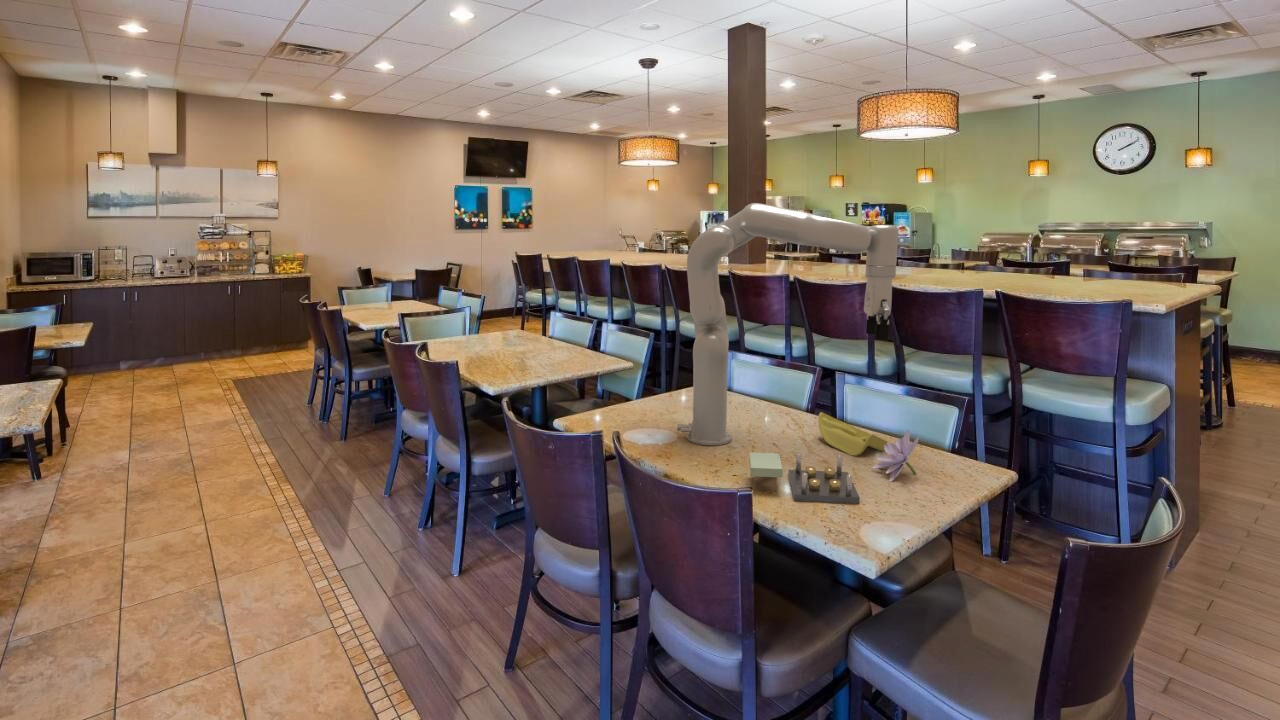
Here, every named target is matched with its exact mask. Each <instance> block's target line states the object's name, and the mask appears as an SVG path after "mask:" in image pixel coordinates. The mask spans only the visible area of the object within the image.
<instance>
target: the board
mask: <svg viewBox="0 0 1280 720" xmlns="http://www.w3.org/2000/svg"><path fill="white" fill-rule="evenodd" d="M780 456H781V455H780V453H776V452H775V453H773V452H771V453H770V452H749V460H748V461H749V471H750V477H753V476H758V477H777V478H783V465H782V461H781V457H780Z"/></svg>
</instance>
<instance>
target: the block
mask: <svg viewBox="0 0 1280 720" xmlns="http://www.w3.org/2000/svg"><path fill="white" fill-rule="evenodd" d="M752 477H753V480H752V481H753V487H754V488H753V489H754V491H755V492H773V493H774V492H777V490H778V489H777V488H778V477H758V476H752Z"/></svg>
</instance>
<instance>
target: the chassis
mask: <svg viewBox="0 0 1280 720" xmlns="http://www.w3.org/2000/svg"><path fill="white" fill-rule="evenodd" d="M795 456H796V457H795V469H788V470H787V471H788V472H787V473H788V474H787V475H788V481H789V485H790V489H791V493H792V497H793V501H794V502H812V503H813V502H814V503H831V504H833V503H835V504H853V505H854V504H855V505H856V504H857V505H859V504H860V503H861V501H860V499H861V497H860V495H859V493H858V490H857V489H856V487H855V484H854V482H853V475H852V474H850V473H849V472H848V471H843V470H842V469H843V454H837V455H836V469H835V467H831V466H829V467H828V466H827V467H824V470H817V468H816V467H815V466H805V470H804V469H803V470H802V468H801V467H802V453H800V452H797V453H796V454H795Z"/></svg>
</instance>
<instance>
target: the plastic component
mask: <svg viewBox="0 0 1280 720" xmlns="http://www.w3.org/2000/svg"><path fill="white" fill-rule="evenodd" d="M818 427H819V432H820V434H821V436H822V438H823V439H824V440H825V442H826V443H828V444H829V445H830V446H832V447H834V448H835V449H837V450H840V451H842V452H843V453H846V454H848V455H850V456H854V457H857V456H860V455H861V454H862V453H864V451H865V450H866V448H867V447H870V448H873V449H874V450H877V451H879V452H883V451H885V449H884V445H886V444H888V443H889V441H888V440H886V439H883V438H881V437H879V436H878V435H877V436H876V435H875V434H871V433H869V432H867V431H865V430H862V429H860V428H858V427H855V426H853V425H851V424H849V423H846V422H844V421H841V420H840V419H837V418H834V417H833V416H831V415H829V414H826V413H824V412H822V411H821V412H819V414H818Z"/></svg>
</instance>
